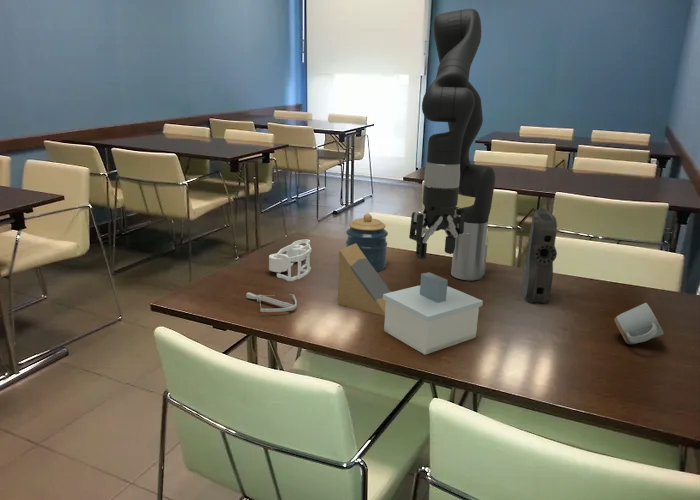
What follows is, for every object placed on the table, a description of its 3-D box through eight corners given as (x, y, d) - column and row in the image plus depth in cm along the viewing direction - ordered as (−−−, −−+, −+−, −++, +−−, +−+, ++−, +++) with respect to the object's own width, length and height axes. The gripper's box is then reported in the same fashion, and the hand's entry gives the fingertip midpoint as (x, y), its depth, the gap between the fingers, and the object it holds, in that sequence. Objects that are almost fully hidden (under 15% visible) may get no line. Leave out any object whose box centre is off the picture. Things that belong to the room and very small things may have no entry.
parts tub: (433, 316, 137) (435, 286, 135) (475, 337, 126) (479, 305, 124) (384, 330, 128) (385, 299, 126) (425, 354, 117) (427, 320, 115)
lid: (435, 290, 136) (437, 262, 134) (481, 310, 124) (485, 280, 122) (382, 303, 126) (384, 273, 124) (427, 327, 114) (429, 294, 112)
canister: (387, 276, 165) (390, 219, 160) (344, 274, 165) (346, 218, 160) (385, 262, 178) (387, 210, 173) (345, 261, 178) (347, 208, 173)
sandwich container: (388, 318, 136) (392, 260, 131) (337, 304, 143) (338, 249, 139) (403, 307, 143) (407, 252, 138) (353, 294, 150) (355, 242, 146)
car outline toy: (293, 258, 179) (293, 237, 177) (324, 263, 175) (324, 241, 173) (262, 277, 161) (262, 253, 159) (296, 283, 157) (296, 258, 155)
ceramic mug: (626, 345, 128) (611, 315, 130) (663, 333, 125) (647, 302, 127) (627, 347, 119) (611, 314, 121) (667, 334, 116) (649, 301, 118)
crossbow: (309, 304, 143) (309, 297, 143) (277, 320, 133) (277, 312, 132) (263, 291, 152) (263, 284, 151) (230, 304, 141) (230, 297, 141)
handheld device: (526, 307, 145) (538, 216, 138) (514, 287, 159) (524, 203, 152) (549, 308, 144) (563, 217, 137) (535, 288, 159) (547, 204, 152)
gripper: (452, 179, 124) (446, 247, 128) (404, 183, 116) (400, 255, 120) (477, 184, 118) (469, 255, 123) (429, 189, 110) (423, 265, 115)
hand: (435, 255), depth 122 cm, fingers open, 8 cm apart
